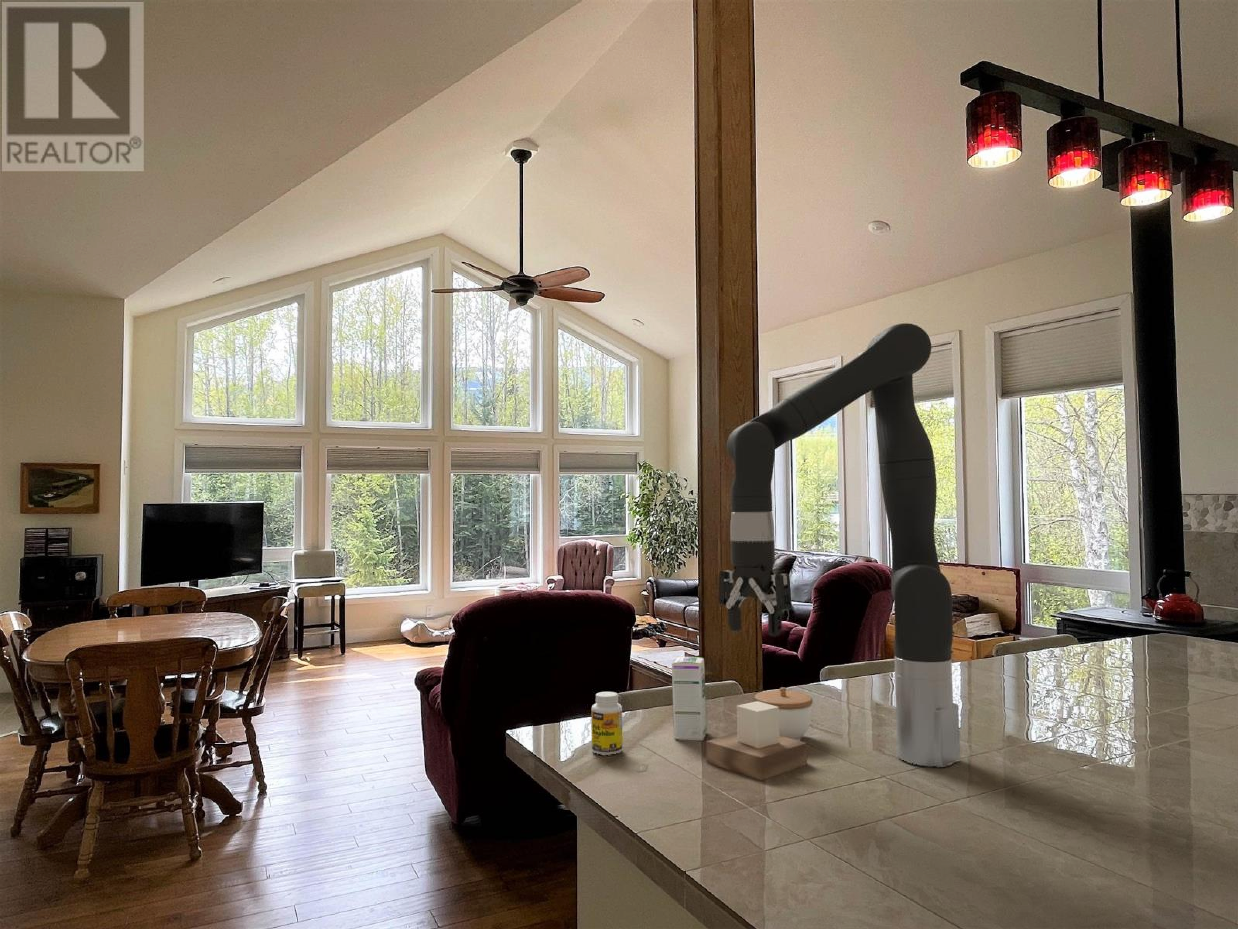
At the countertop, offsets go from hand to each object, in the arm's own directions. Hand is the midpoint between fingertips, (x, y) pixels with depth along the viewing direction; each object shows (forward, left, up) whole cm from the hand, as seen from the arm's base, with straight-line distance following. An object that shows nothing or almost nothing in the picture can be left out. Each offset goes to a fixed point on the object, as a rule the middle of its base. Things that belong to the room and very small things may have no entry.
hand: (754, 633), depth 135 cm
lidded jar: (+6, -15, -22) cm, 27 cm away
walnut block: (0, 0, -22) cm, 22 cm away
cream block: (0, 0, -18) cm, 18 cm away
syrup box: (+19, -3, -22) cm, 29 cm away
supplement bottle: (+22, +15, -22) cm, 35 cm away
